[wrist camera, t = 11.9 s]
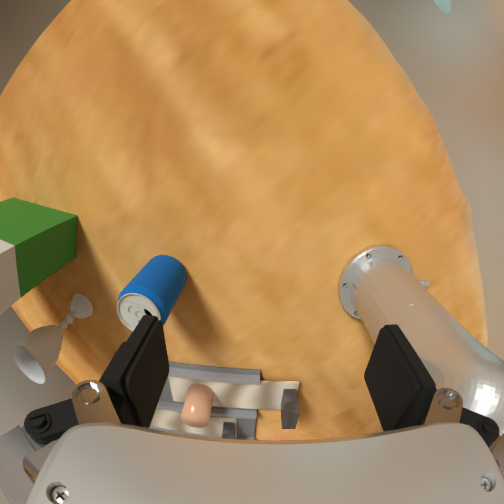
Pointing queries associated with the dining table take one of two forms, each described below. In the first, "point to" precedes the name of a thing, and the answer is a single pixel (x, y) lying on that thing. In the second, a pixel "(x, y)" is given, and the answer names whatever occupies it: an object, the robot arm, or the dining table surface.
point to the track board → (215, 374)
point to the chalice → (47, 342)
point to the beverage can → (152, 291)
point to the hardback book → (32, 246)
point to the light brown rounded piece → (197, 406)
